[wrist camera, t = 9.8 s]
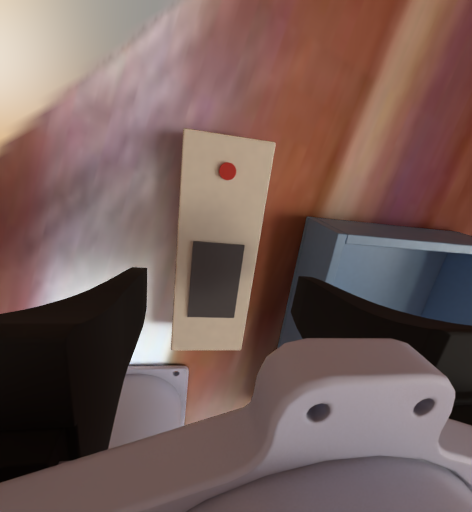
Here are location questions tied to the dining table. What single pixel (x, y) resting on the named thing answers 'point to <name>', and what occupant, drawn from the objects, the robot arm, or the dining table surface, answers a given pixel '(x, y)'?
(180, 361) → the dining table surface
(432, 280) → the box
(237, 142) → the remote
